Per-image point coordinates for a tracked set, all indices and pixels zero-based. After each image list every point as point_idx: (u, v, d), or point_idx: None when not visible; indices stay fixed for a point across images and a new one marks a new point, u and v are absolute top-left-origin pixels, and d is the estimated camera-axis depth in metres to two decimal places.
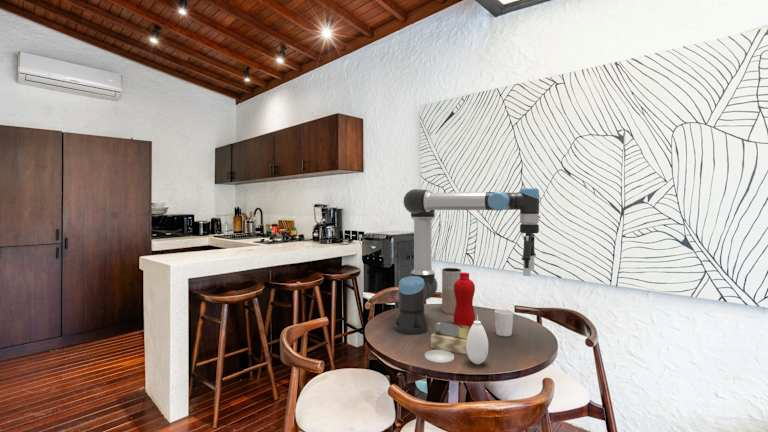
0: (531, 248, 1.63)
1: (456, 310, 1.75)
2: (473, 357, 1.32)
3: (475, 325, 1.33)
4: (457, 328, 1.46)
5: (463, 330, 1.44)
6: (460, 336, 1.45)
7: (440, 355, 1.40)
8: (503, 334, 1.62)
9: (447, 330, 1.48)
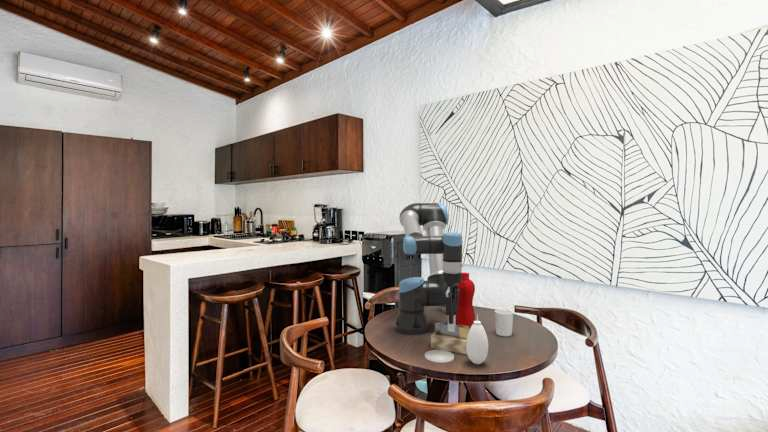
0: (453, 301, 1.47)
1: None
2: (473, 357, 1.32)
3: (475, 325, 1.33)
4: (457, 328, 1.46)
5: (464, 329, 1.45)
6: (460, 336, 1.45)
7: (440, 355, 1.40)
8: (503, 334, 1.62)
9: None
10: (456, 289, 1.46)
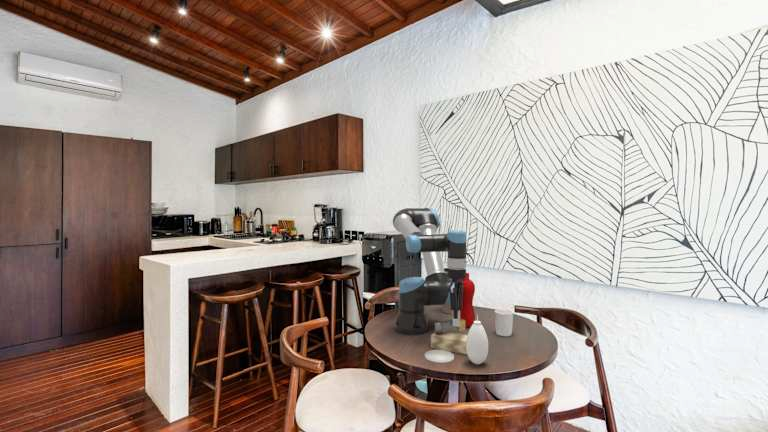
0: None
1: None
2: (473, 357, 1.32)
3: (475, 325, 1.33)
4: None
5: (463, 322, 1.54)
6: (460, 329, 1.54)
7: (440, 355, 1.40)
8: (503, 334, 1.62)
9: (448, 327, 1.52)
10: None
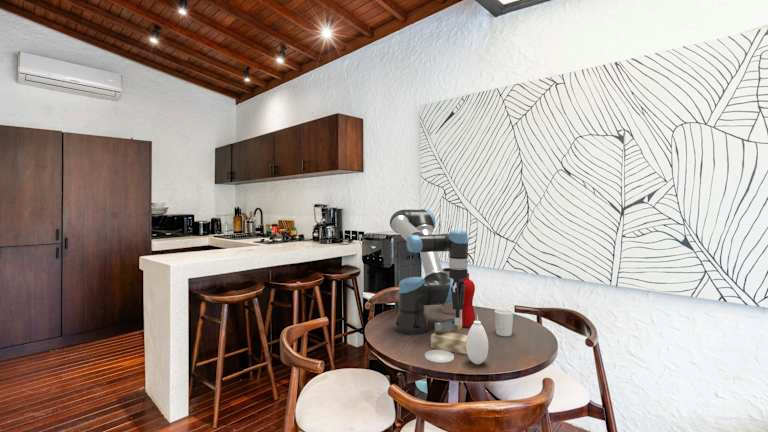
0: None
1: None
2: (473, 357, 1.32)
3: (475, 325, 1.33)
4: (454, 321, 1.55)
5: None
6: (458, 327, 1.55)
7: (440, 355, 1.40)
8: (503, 334, 1.62)
9: (448, 326, 1.53)
10: None
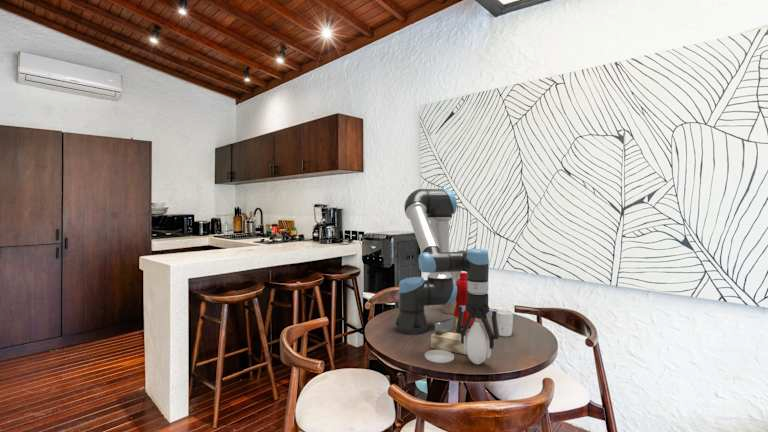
0: None
1: (456, 310, 1.75)
2: (473, 357, 1.32)
3: (475, 325, 1.33)
4: (453, 321, 1.55)
5: None
6: None
7: (440, 355, 1.40)
8: (503, 334, 1.62)
9: (447, 326, 1.53)
10: (478, 313, 1.32)
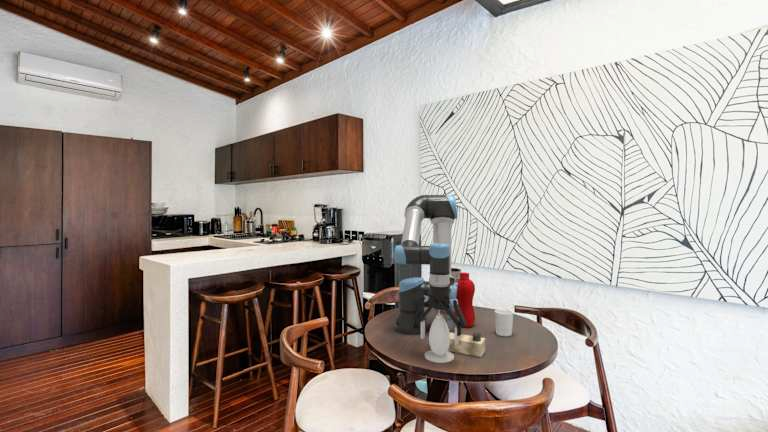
0: (450, 316, 1.37)
1: None
2: (435, 349, 1.37)
3: (437, 318, 1.39)
4: None
5: (459, 320, 1.57)
6: None
7: None
8: (503, 334, 1.62)
9: None
10: (440, 305, 1.38)
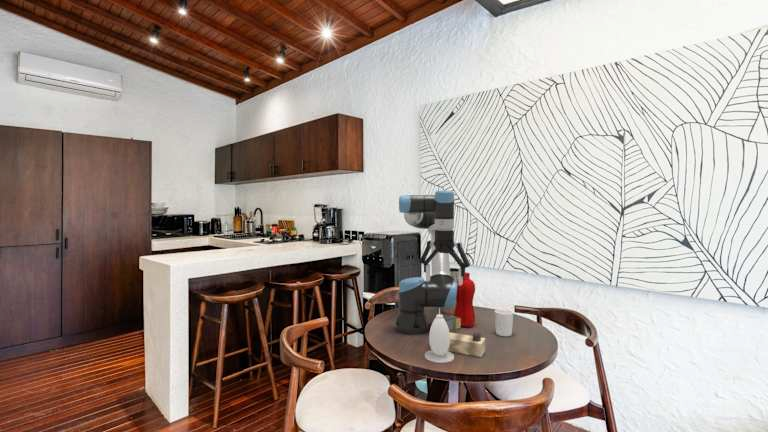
0: (454, 258, 1.44)
1: (456, 310, 1.76)
2: (435, 349, 1.37)
3: (437, 318, 1.39)
4: (453, 321, 1.55)
5: (459, 320, 1.57)
6: (457, 327, 1.56)
7: None
8: (503, 334, 1.62)
9: None
10: (445, 248, 1.45)
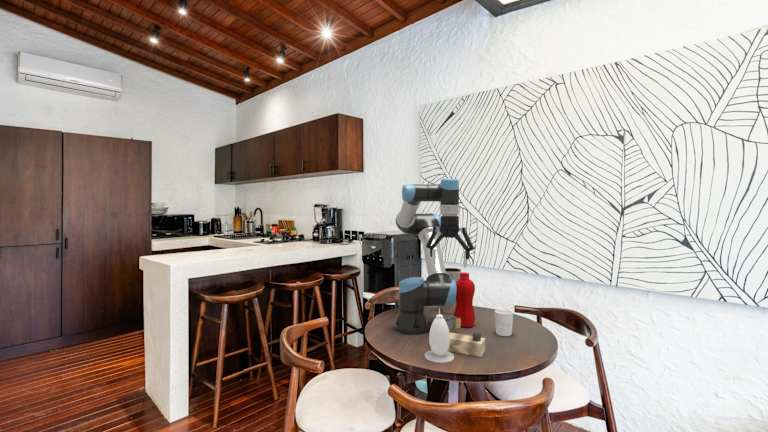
0: (459, 242, 1.53)
1: (456, 310, 1.75)
2: (435, 349, 1.37)
3: (437, 318, 1.39)
4: (453, 321, 1.55)
5: (459, 320, 1.57)
6: (457, 327, 1.56)
7: None
8: (503, 334, 1.62)
9: None
10: (450, 233, 1.53)
